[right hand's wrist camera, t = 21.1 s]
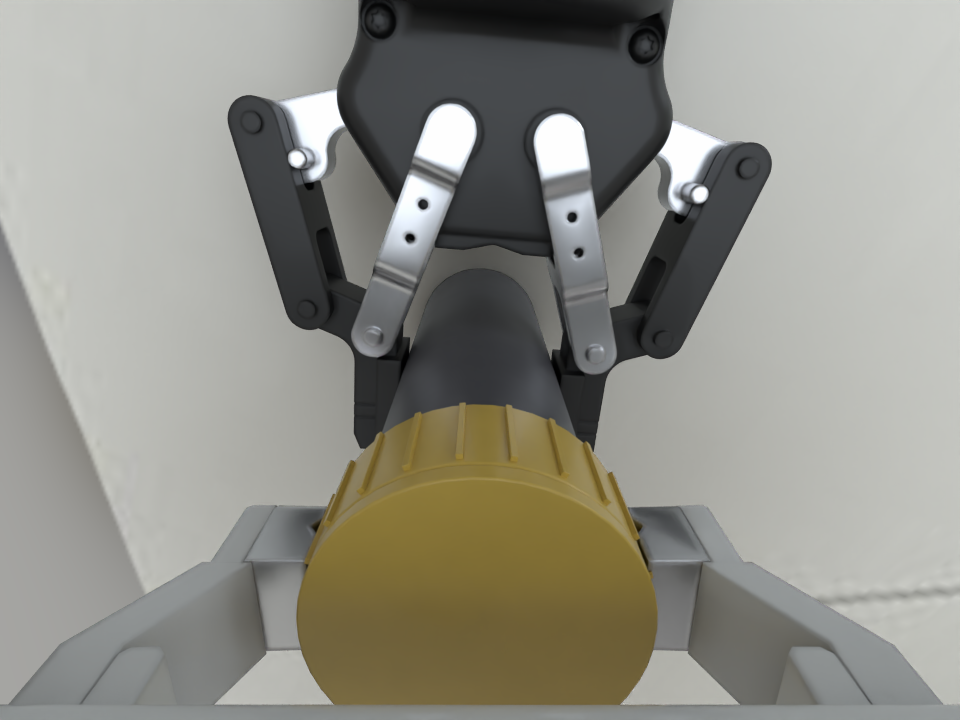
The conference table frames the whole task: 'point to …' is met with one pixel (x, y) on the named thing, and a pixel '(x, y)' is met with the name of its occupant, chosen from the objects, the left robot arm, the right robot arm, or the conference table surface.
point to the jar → (479, 352)
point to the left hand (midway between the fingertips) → (473, 459)
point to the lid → (477, 570)
